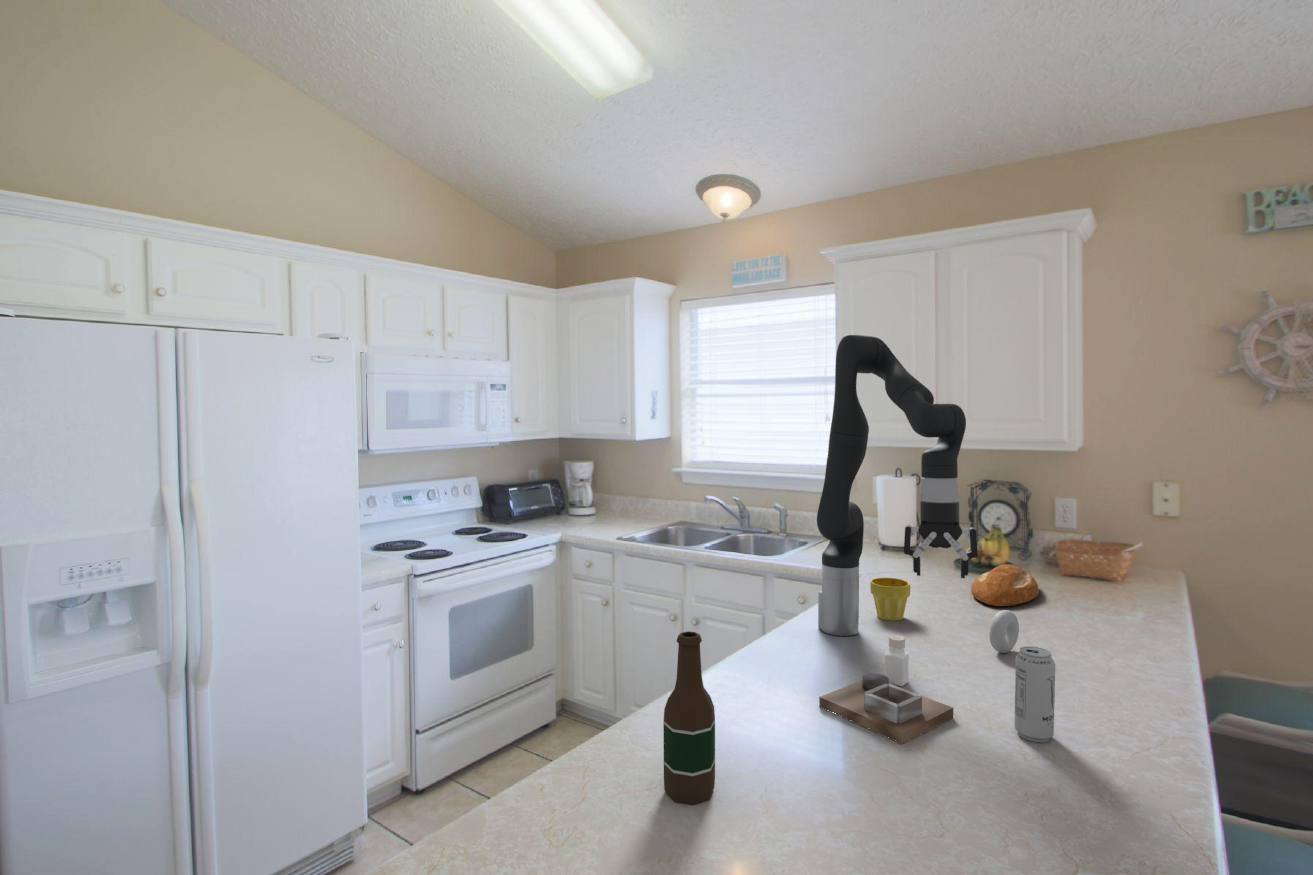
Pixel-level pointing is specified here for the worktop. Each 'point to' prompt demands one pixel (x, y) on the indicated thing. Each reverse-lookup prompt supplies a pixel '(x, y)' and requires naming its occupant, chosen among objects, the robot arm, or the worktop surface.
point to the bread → (1005, 586)
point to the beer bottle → (689, 729)
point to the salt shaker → (897, 661)
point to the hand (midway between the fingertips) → (940, 576)
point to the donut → (1004, 631)
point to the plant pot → (890, 597)
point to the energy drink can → (1034, 694)
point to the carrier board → (886, 708)
